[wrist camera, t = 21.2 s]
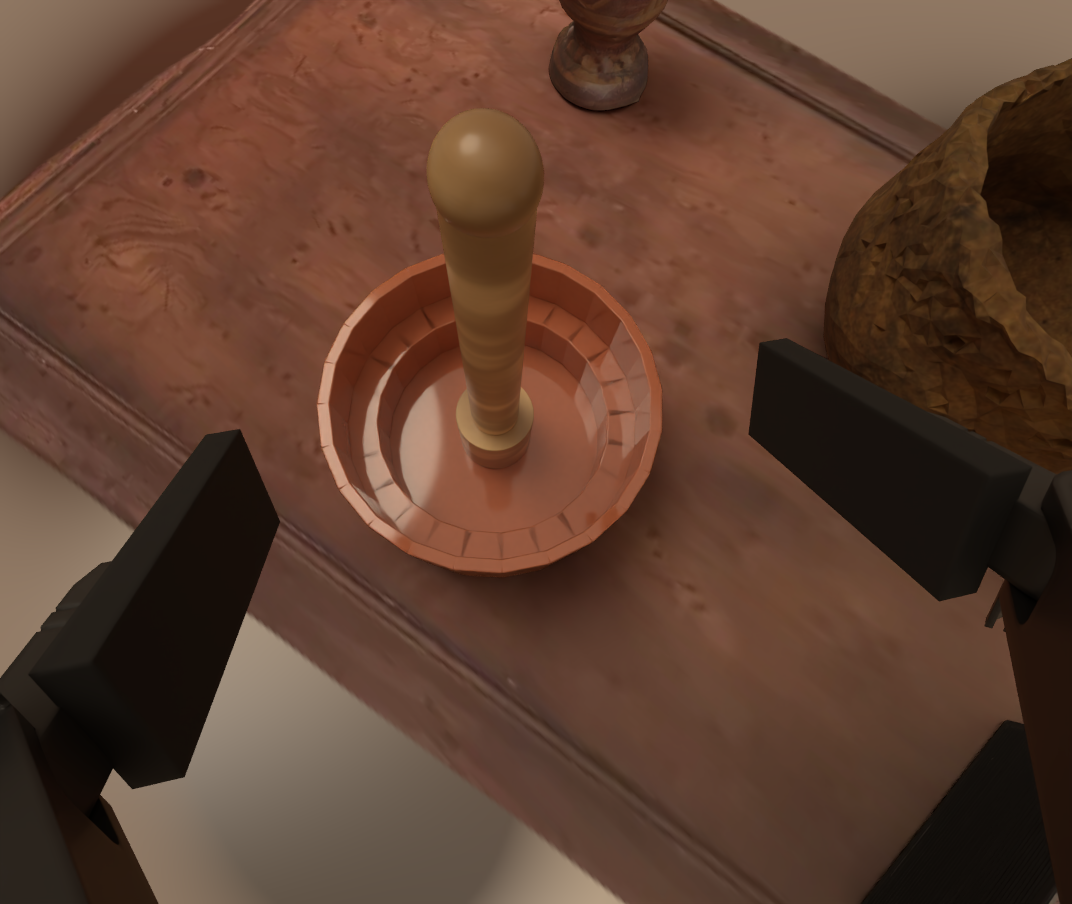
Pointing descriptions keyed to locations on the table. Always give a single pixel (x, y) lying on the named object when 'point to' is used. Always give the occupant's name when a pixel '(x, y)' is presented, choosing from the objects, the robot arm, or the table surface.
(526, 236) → the muddler
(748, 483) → the table surface
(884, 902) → the camera
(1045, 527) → the robot arm
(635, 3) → the mortar and pestle
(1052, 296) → the bowl
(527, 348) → the mixing bowl
